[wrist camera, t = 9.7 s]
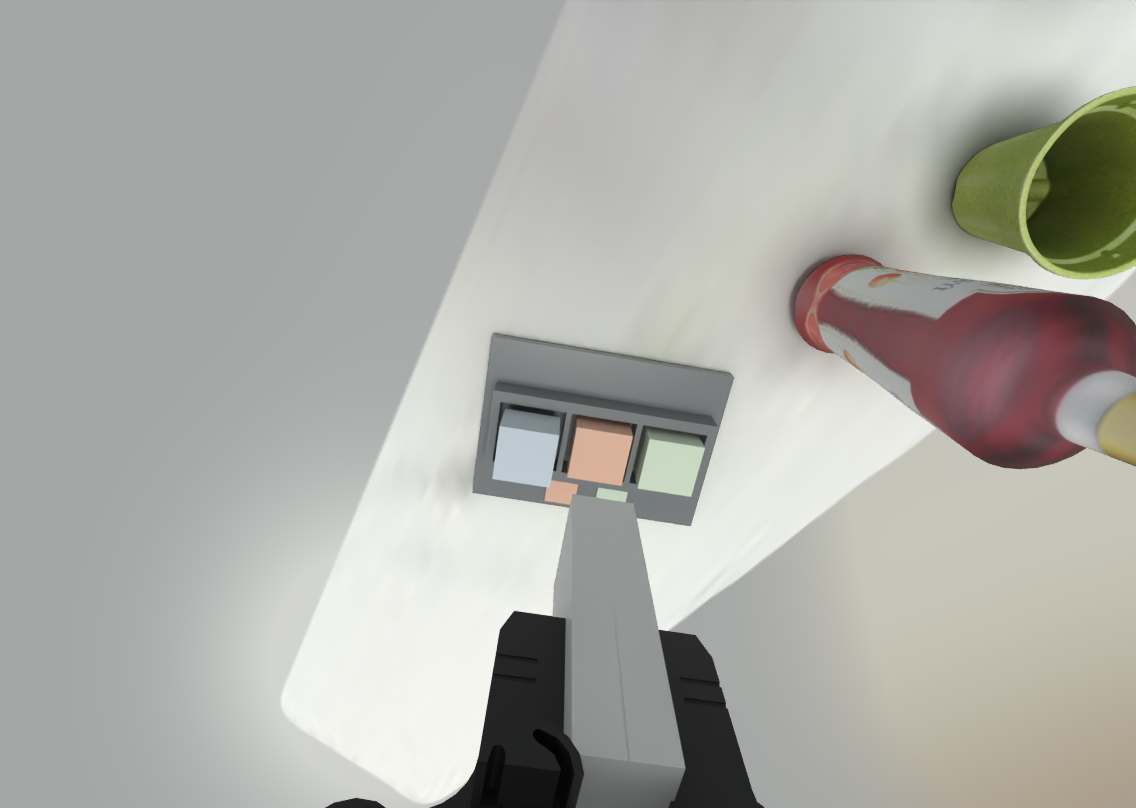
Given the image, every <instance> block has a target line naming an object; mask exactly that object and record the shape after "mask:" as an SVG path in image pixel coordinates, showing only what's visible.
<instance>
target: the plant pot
mask: <svg viewBox="0 0 1136 808" xmlns="http://www.w3.org/2000/svg"><path fill="white" fill-rule="evenodd" d="M1026 208H1027V209H1026ZM952 210H953V214H954V217H955V219H956V221H957V223H958V224H959V226H960V227H961V228H962V229H963V230H964V231H966V232H967V233H969V234H970V235H972V236H975V237H978V238H981V239H984V240H987V241H991V242H994V243H997V244H1000V245H1003V246H1006V247H1009V248H1012V249H1015V250H1018V251H1021V252H1024V253H1026V254H1027V255H1029V256H1030V257H1031V258H1032V259H1033V260H1034V261H1035V262H1036V263H1037V264H1038V265H1039V266H1041V267H1042V268H1044V269H1046V270H1047V271H1049V272H1051V273H1054V274H1056V275H1059V276H1063V277H1067V278H1072V279H1096V278H1103V277H1108V276H1112V275H1115V274H1118V273H1120V272H1123V271H1125V270H1128V269H1130V268H1132V267H1134V266H1136V86H1135V87H1128V88H1124V89H1120V90H1116V91H1113V92H1110V93H1108V94H1105V95H1103V96H1100V97H1098V98H1096V99H1094V100H1092V101H1090V102H1088V103H1087V104H1085V105H1083V106H1082V107H1080V108H1079V109H1077V110H1076V111H1074V112H1073V113H1072V114H1070V115H1069V116H1068V117H1067V118H1066V119H1064V120H1062V121H1061V122H1058V123H1055V124H1052V125H1049V126H1046V127H1043V128H1040V129H1037V130H1034V131H1031V132H1028V133H1025V134H1022V135H1019V136H1016V137H1012V138H1009V139H1006V140H1003V141H1001V142H998V143H995V144H993V145H990V146H988V147H986V148H985V149H983V150H981V151H980V152H979V153H977V154H976V155H975V156H974V157H973V158H972V159H971V160H970V161H969V162H968V163H967V164H966V166H965V167H964V168H963V169H962V171H961V173H960V174H959V176H958V178H957V182H956V189H955V194H954V198H953V202H952Z"/></svg>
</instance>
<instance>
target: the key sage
mask: <svg viewBox="0 0 1136 808" xmlns="http://www.w3.org/2000/svg"><path fill="white" fill-rule="evenodd" d="M704 450H705V447H704V445H703V443H702V441H701V439H700V437H699V435H698V434H694V433H688V432H682V431H676V430H670V429H664V428H657V427H651V426H645V425H643V429H642V433H641V437H640V441H639V446H638V450H637V454H636V458H635V462H634V467H633V470H634V474H635V479H636V483H637V488H638V489H644V490H650V491H657V492H663V493H670V494H676V495H682V496H689V497H691V495H692V492H693V488H694V485H695V481H696V478H697V474H698V471H699V467H700V464H701V461H702V457H703V454H704Z"/></svg>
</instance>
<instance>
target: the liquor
mask: <svg viewBox="0 0 1136 808" xmlns="http://www.w3.org/2000/svg"><path fill="white" fill-rule="evenodd" d="M794 317H795V323H796V326H797V329H798V331H799V333H800V335H801V336H802V337H803V339H804V340H805V341H806V342H807V343H808V344H809V345H810V346H812V347H814V348H816V349H818V350H820V351H824V352H827V353H835V354H837V355H838V356H840V357H841V358H843V359H844V360H846V361H847V362H849V363H850V364H851V365H853V366H854V367H856V368H857V369H859V370H860V371H861V372H863V373H864V374H866V375H867V376H868V377H870V378H871V379H873V380H874V381H875V382H876V383H878V384H879V385H880V386H882V387H883V388H884V389H885V390H887V391H888V392H889V393H890V394H892V395H893V396H894V397H896V398H897V399H898V400H899V401H901V402H902V403H903V404H904V405H906V406H907V407H908V408H910V409H911V410H912V411H914V412H915V413H916V414H918V415H919V416H921V417H922V418H923V419H925V420H926V421H928V422H929V423H931V424H932V425H933V426H935V427H936V428H938V429H939V430H941V431H942V432H943V433H945V434H946V435H947V436H949V437H950V438H951V439H953V440H954V441H956V442H957V443H958V444H960V445H961V446H962V447H964V448H965V449H966V450H968V451H969V452H971V453H972V454H973V455H974V456H976V457H978V458H980V459H981V460H983V461H985V462H987V463H989V464H993V465H996V466H1000V467H1003V468H1013V469H1027V468H1038V467H1042V466H1045V465H1050V464H1054V463H1057V462H1059V461H1062V460H1064V459H1067V458H1069V457H1072V456H1074V455H1075V454H1077V453H1079V452H1080V451H1082V450H1084V449H1086V448H1089V449H1091V450H1094V451H1097V452H1099V453H1102V454H1104V455H1107V456H1110V457H1112V458H1115V459H1118V460H1121V461H1123V462H1126V463H1128V464H1131V465H1133V466H1136V325H1135V323H1134V322H1133V321H1132V320H1131V319H1130V318H1129V316H1128V315H1127V314H1126V313H1125V312H1124V311H1123V310H1121V309H1120V308H1118V307H1117V306H1115V305H1114V304H1112V303H1110V302H1108V301H1105V300H1102V299H1099V298H1096V297H1091V296H1083V295H1076V294H1069V293H1062V292H1054V291H1047V290H1041V289H1035V288H1028V287H1022V286H1015V285H1009V284H1003V283H996V282H987V281H978V280H969V279H960V278H951V277H942V276H935V275H929V274H922V273H916V272H909V271H903V270H897V269H892V268H886V267H883V266H882V265H881V264H880V263H879V262H877V261H875V260H874V259H872V258H869V257H866V256H863V255H843V256H840V257H836V258H833V259H831V260H829V261H827V262H825V263H823V264H822V265H820V266H819V267H818V268H816V269H815V270H814V271H813V272H812V273H811V274H810V275H809V276H808V277H807V279H806V280H805V282H804V283H803V284H802V286H801V288H800V290H799V292H798V295H797V298H796V302H795V309H794Z"/></svg>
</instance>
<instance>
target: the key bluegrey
mask: <svg viewBox="0 0 1136 808" xmlns="http://www.w3.org/2000/svg"><path fill="white" fill-rule="evenodd" d="M559 432H560V417H554V416H548V415H542V414H536V413H530V412H523V411H517V410H511V409H505V411H504V414H503V417H502V420H501V423H500V427H499V434H498V441H497V449H496V456H495V463H494V470H493V478H492V479H496V480H503V481H509V482H516V483H522V484H529V485H535V486H541V487H548V488H550V484H551V479H552V473H553V468H554V462H555V457H556V451H557V445H558V440H559Z"/></svg>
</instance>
